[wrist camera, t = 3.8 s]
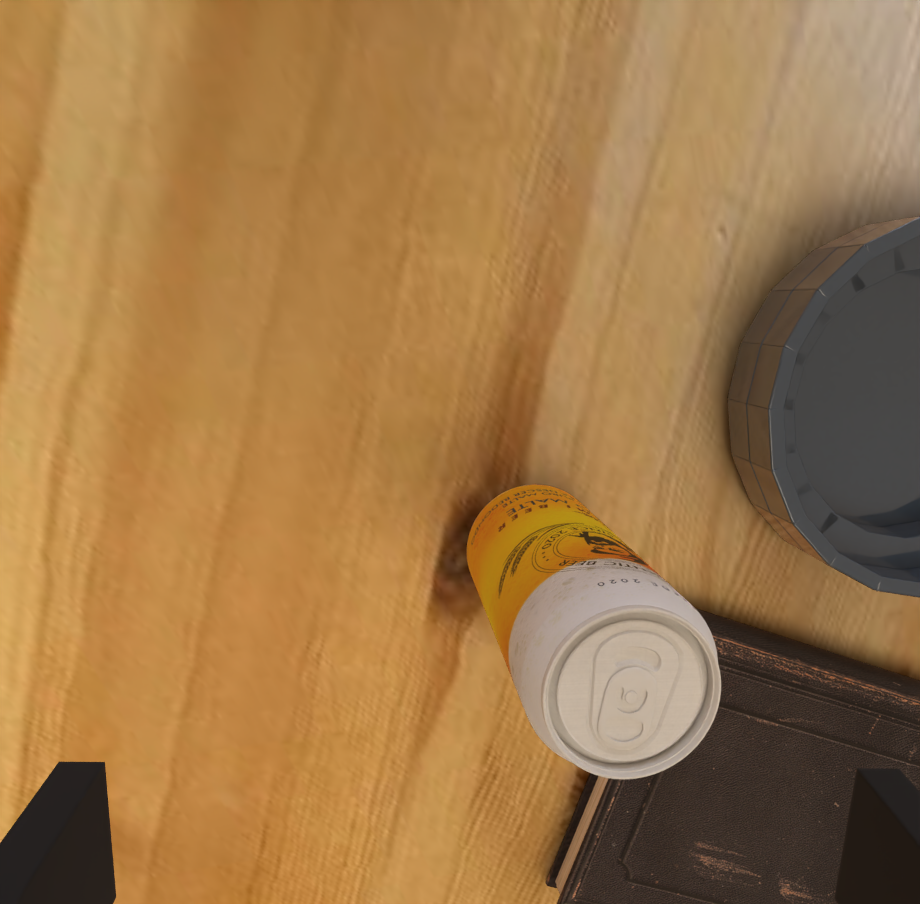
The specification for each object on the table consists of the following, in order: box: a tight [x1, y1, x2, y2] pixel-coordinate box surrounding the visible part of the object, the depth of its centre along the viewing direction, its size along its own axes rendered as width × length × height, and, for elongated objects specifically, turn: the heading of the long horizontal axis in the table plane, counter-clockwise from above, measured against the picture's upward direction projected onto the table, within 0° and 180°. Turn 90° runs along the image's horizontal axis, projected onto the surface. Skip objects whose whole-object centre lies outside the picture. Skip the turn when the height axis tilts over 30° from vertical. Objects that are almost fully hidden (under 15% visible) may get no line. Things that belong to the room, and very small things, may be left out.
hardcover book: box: [546, 608, 920, 904], centre depth 41 cm, size 16×23×2 cm
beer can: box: [467, 484, 721, 779], centre depth 31 cm, size 6×6×15 cm
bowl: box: [728, 216, 920, 597], centre depth 37 cm, size 16×16×4 cm
